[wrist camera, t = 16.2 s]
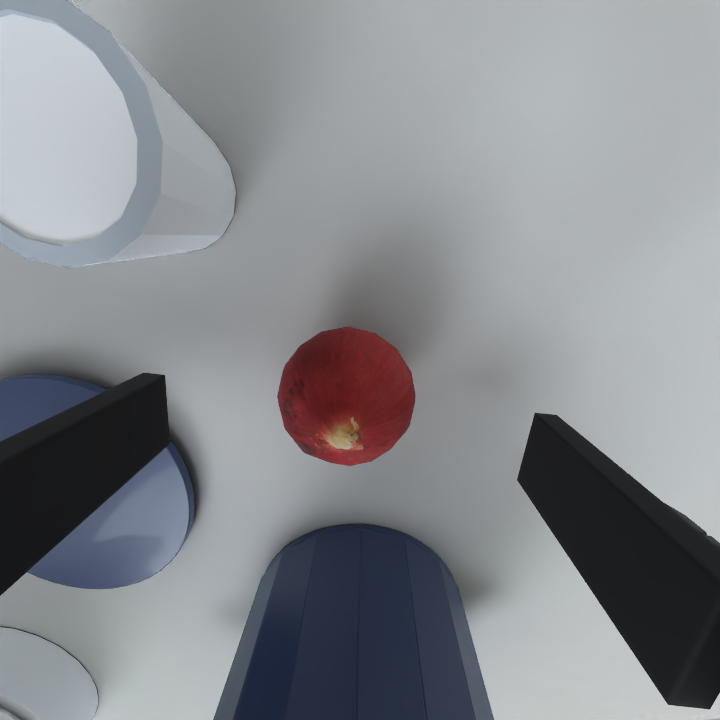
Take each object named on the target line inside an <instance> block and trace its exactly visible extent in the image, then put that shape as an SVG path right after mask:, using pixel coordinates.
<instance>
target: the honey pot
mask: <svg viewBox="0 0 720 720" xmlns="http://www.w3.org/2000/svg"><path fill="white" fill-rule="evenodd" d="M97 706H98V695H97V688H96V686H95V684H94V682H93V680H92V678H91V676H90V674H89V673H88V672H87V671H86V670H85V669H84V667H83V666H82V665H81V664H80V663H79V662H78V661H77V660H76V659H75V658H74V657H72V656H71V655H70V654H68V653H67V652H66V651H64V650H63V649H62V648H60V647H59V646H57V645H55V644H53V643H51V642H49V641H47V640H45V639H43V638H41V637H39V636H36V635H33V634H29V633H26V632H23V631H20V630H16V629H11V628H3V627H0V720H92V719H93V717H94V715H95V713H96V709H97Z"/></svg>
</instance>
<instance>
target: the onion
mask: <svg viewBox="0 0 720 720" xmlns="http://www.w3.org/2000/svg"><path fill="white" fill-rule="evenodd" d="M277 397H278V403H279V407H280V411H281V415H282V419H283V423H284V427H285V429H286V431H287V432H288V433H289V434H290V436H291V437H292V438H293V440H294V441H295V442H296V443H297V445H298V446H299V447H300V449H301V450H302V451H303V452H304V453H306V454H309V455H311V456H314V457H317V458H319V459H322V460H325V461H327V462H330V463H336V464H342V465H347V466H352V465H356V464H361V463H366V462H371V461H373V460H374V459H376V458H378V457H379V456H381V455H382V454H384V453H385V452H387V451H389V450H390V449H391V448H392V447H393V446H394V445H395V444H396V442H397V441H398V440H399V439H400V438H401V436H402V435H403V434H404V433H405V432H406V431H407V429H408V427H409V425H410V421H411V417H412V413H413V408H414V404H415V390H414V385H413V379H412V374H411V371H410V369H409V368H408V366H407V364H406V363H405V361H404V360H403V358H402V357H401V355H400V353H399V352H398V350H397V349H396V348H395V347H393V346H392V345H391V344H389V343H388V342H386V341H385V340H384V339H382V338H381V337H379V336H378V335H377V334H375V333H372V332H368V331H364V330H360V329H356V328H352V327H344V328H339V329H334V330H328V331H323V332H320V333H319V334H317V335H316V336H314V337H313V338H311V339H310V340H308V341H307V342H305V343H304V344H302V345H301V346H300V347H299V348H298V349H297V350H296V352H295V353H294V354H293V356H292V357H291V358H290V360H289V361H288V362H287V364H286V365H285V367H284V370H283V373H282V378H281V382H280V387H279V392H278V396H277Z"/></svg>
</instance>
